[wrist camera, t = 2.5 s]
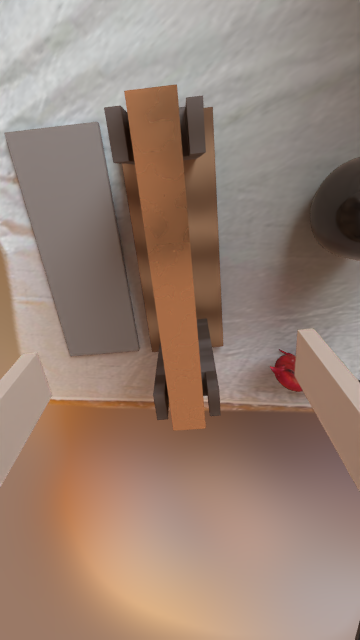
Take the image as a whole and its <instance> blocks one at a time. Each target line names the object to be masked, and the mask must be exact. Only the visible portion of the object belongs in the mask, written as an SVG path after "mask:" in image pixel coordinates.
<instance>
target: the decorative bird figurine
mask: <svg viewBox="0 0 360 640" xmlns="http://www.w3.org/2000/svg"><path fill="white" fill-rule="evenodd" d="M279 350H280V349H279ZM280 351H281V352H283V353H284V354H286V355H284V356H281V357H280V358H279V359H278V360H277V361H276V363H275V367H271V366H270V368H271V369H272V371H273V372H274V374H275V376H276V378H277V380H278V381H279V382H280V383H281V384H282V385H283V386H284V387H286V388H287V389H290V390H292V391H296V392H300V391H303V390H302V388H301V387H300V385H299V383H298V381H297V379H296V378H295V362H296V356H294V355H292V354H291V353H286V352H284V351H282V350H280Z"/></svg>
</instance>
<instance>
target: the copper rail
mask: <svg viewBox="0 0 360 640" xmlns="http://www.w3.org/2000/svg"><path fill="white" fill-rule="evenodd" d="M124 92H125V99H126V106H127V113H128V120H129V127H130V134H131V140H132V147H133V154H134V161H135V168H136V175H137V182H138V189H139V196H140V203H141V210H142V217H143V223H144V230H145V237H146V244H147V251H148V258H149V265H150V272H151V279H152V286H153V293H154V300H155V306H156V313H157V320H158V327H159V334H160V341H161V348H162V355H163V362H164V369H165V376H166V382H167V389H168V396H169V403H170V410H171V417H172V424H173V430H174V431H176V430H190V429H204V428H206V425H205V414H204V402H203V390H202V378H201V366H200V354H199V342H198V331H197V319H196V307H195V295H194V283H193V271H192V259H191V248H190V236H189V224H188V212H187V200H186V188H185V176H184V164H183V153H182V141H181V129H180V117H179V105H178V93H177V85H169V86H161V87H152V88H144V89H136V90H128V91H124Z"/></svg>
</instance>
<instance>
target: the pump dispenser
mask: <svg viewBox="0 0 360 640" xmlns="http://www.w3.org/2000/svg"><path fill="white" fill-rule="evenodd" d="M310 222H311V228H312V232H313V234H314V237H315V238H316V240H317V241H318V243H319V244H320V245H321V246H322V247H323V248H324V249H326V250H327V251H329V252H330V253H332V254H334V255H337V256H340V257H343V258H347V259H351V260H356V261H360V157H358V158H355V159H352V160H350V161H348V162H346V163H344V164H342V165H340V166H339V167H338V168H336V169H335V170H334V171H333V172H332V173H330V174H329V175H328V177H327V178H326V179H325V180H324V181H323V183H322V184H321V186H320V187H319V189H318V190H317V192H316V194H315V196H314V199H313V202H312V206H311V213H310Z"/></svg>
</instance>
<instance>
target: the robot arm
mask: <svg viewBox="0 0 360 640" xmlns="http://www.w3.org/2000/svg"><path fill="white" fill-rule="evenodd" d="M295 378H296V379H297V381H298V383H299V385H300V387H301V388H302V390H303V392H304V394H305V395H306V397H307V399H308V401H309V403H310V404H311V406H312V408H313V410H314V411H315V413H316V415H317V416H318V419H319V420H320V422H321V424H322V426H323V427H324V429H325V431H326V433H327V434H328V436H329V438H330V440H331V442H332V444H333V445H334V447H335V449H336V451H337V452H338V454H339V456H340V458H341V460H342V461H343V463H344V465H345V467H346V468H347V470H348V472H349V474H350V475H351V477H352V479H353V481H354V483H355V484H356V486H357V488H358V490H359V492H360V381H358V380H357V379H356V378H355V377H354V375H353V374H352V373H351V372H350V371H349V370H348V368H347V367H346V366H345V365H344V364H343V362H342V361H341V360H340V359H339V358H338V357H337V355H336V354H335V353H334V352H333V351H332V350H331V348H330V347H329V346H328V345H327V344H326V343H325V341H324V340H323V339H322V338H321V337H320V335H319V334H318V333H317V332H316V331H315V330H314V328H313V329H301V330H298V333H297V348H296V362H295ZM51 397H52V393H51V390H50V387H49V384H48V381H47V378H46V376H45V373H44V370H43V367H42V364H41V361H40V358H39V355H38V352H37V353H25V354H22V355H21V357H20V358H19V359H18V360H17V361H16V362H15V364H14V365H13V366H12V367H11V368H10V369H9V370H8V372H7V373H6V374H5V375H4V376H3V378H2V379H1V380H0V486H1V485H2V483H3V481H4V479H5V477H6V476H7V474H8V472H9V471H10V469H11V467H12V465H13V464H14V462H15V460H16V458H17V457H18V455H19V453H20V451H21V450H22V448H23V446H24V444H25V443H26V441H27V439H28V437H29V435H30V434H31V432H32V430H33V429H34V427H35V424H36V423H37V421H38V420H39V418H40V416H41V414H42V413H43V411H44V409H45V407H46V406H47V404H48V402H49V400H50V399H51ZM355 640H360V622H359V626H358V630H357V634H356V637H355Z"/></svg>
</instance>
